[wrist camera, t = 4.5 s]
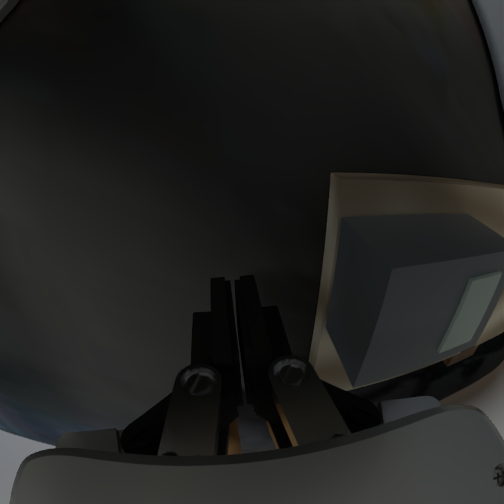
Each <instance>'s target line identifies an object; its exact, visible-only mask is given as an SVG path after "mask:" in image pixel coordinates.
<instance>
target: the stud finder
mask: <svg viewBox="0 0 504 504" xmlns="http://www.w3.org/2000/svg"><path fill="white" fill-rule="evenodd" d="M503 289H504V238H503V237H502V236H501V235H499V234H498V233H496V232H495V231H493V230H492V229H490V228H489V227H487V226H486V225H484V224H483V223H481V222H480V221H478V220H477V219H475V218H474V217H472V216H470V215H469V214H417V215H383V216H357V217H342V218H341V227H340V236H339V244H338V252H337V259H336V266H335V273H334V280H333V286H332V292H331V298H330V304H329V310H328V316H327V321H326V327H325V328H326V330H327V332H328V334H329V336H330V338H331V341H332V343H333V345H334V347H335V349H336V352H337V354H338V356H339V358H340V360H341V363H342V365H343V367H344V369H345V372H346V374H347V376H348V378H349V381H350V383H351V385H352V387H353V388H356V387H359V386H363V385H367V384H371V383H374V382H378V381H381V380H384V379H388V378H391V377H394V376H397V375H400V374H404V373H407V372H409V371H412V370H415V369H418V368H421V367H424V366H426V365H429V364H432V363H434V362H437V361H440V360H442V359H445V358H447V357H449V356H452V355H454V354H457V353H459V352H461V351H464V350H466V349H468V348H470V347H472V346H475V344H476V343H477V341H478V339H479V337H480V335H481V334H482V332H483V330H484V328H485V326H486V324H487V322H488V320H489V319H490V317H491V315H492V313H493V310H494V308H495V306H496V304H497V302H498V300H499V298H500V295H501V293H502V291H503Z"/></svg>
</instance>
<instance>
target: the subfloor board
mask: <svg viewBox="0 0 504 504" xmlns="http://www.w3.org/2000/svg"><path fill="white" fill-rule="evenodd" d="M417 214H469V215H470V216H472V217H474V218H475V219H477V220H478V221H480V222H481V223H483V224H484V225H486V226H487V227H489V228H490V229H492V230H493V231H495V232H496V233H498V234H499V235H501V236H502V237H503V238H504V185H500V184H493V183H486V182H478V181H470V180H462V179H452V178H442V177H430V176H417V175H401V174H380V173H339V172H331V175H330V191H329V204H328V217H327V228H326V238H325V248H324V257H323V266H322V274H321V282H320V290H319V298H318V305H317V312H316V318H315V325H314V331H313V337H312V343H311V349H310V355H309V362H310V363H311V365H312V366H313V367H314V369H315V371H316V373H317V374H318V376H319V378H320V379H321V380H323V381H325V382H327V383H330V384H332V385H334V386H336V387H338V388H341V389H343V390H345V391H348V390H352V389H356V388H360V387H364V386H367V385H371V384H375V383H378V382H381V381H385V380H388V379H391V378H394V377H398V376H401V375H404V374H407V373H410V372H413V371H415V370H418V369H421V368H424V367H426V366H429V365H432V364H434V363H437V362H440V361H442V360H443V362H444V363H445V365H446V366H450V365H452V364H454V363H456V362H459V361H461V360H463V359H465V358H467V357H469V356H471V355H473V354H474V352H475V350H476V349H477V347H478V345H479V344H481V343H483V342H485V341H487V340H489V339H491V338H493V337H495V336H497V335H499V334H501V333H502V332H504V289H503V291H502V293H501V295H500V298H499V300H498V302H497V304H496V306H495V308H494V310H493V313H492V315H491V317H490V319H489V320H488V322H487V324H486V326H485V328H484V330H483V332H482V334H481V335H480V337H479V339H478V341H477V343H476V344H475V346H472V347H470V348H468V349H466V350H464V351H461V352H459V353H457V354H454V355H452V356H449V357H447V358H445V359H442V360H440V361H437V362H434V363H432V364H429V365H426V366H424V367H421V368H418V369H415V370H412V371H409V372H407V373H404V374H400V375H397V376H394V377H391V378H388V379H384V380H381V381H378V382H374V383H371V384H367V385H363V386H359V387H356V388H353V387H352V385H351V383H350V381H349V378H348V376H347V374H346V372H345V369H344V367H343V365H342V363H341V360H340V358H339V356H338V354H337V352H336V349H335V347H334V345H333V343H332V341H331V338H330V336H329V334H328V332H327V330H326V328H325V327H326V321H327V316H328V310H329V304H330V298H331V292H332V286H333V280H334V273H335V266H336V259H337V252H338V244H339V236H340V227H341V218H342V217H357V216H383V215H417Z"/></svg>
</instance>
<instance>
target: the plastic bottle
mask: <svg viewBox="0 0 504 504" xmlns="http://www.w3.org/2000/svg"><path fill="white" fill-rule="evenodd" d="M472 3H473V5H474V7H475V10H476V12H477V15H478V17H479V20H480V23H481V26H482V28H483V31H484V34H485V37H486V41H487V44H488V47H489V51H490V54H491V58H492V61H493V65H494V69H495V74H496V78H497V83H498V88H499V93H500V98H501V103H502V107H503V110H504V0H472Z"/></svg>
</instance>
